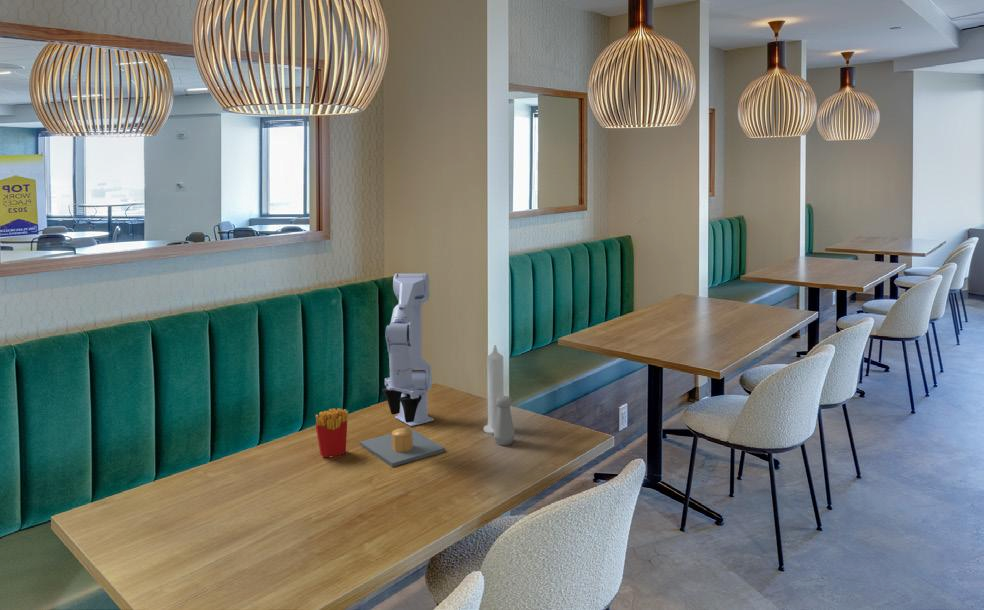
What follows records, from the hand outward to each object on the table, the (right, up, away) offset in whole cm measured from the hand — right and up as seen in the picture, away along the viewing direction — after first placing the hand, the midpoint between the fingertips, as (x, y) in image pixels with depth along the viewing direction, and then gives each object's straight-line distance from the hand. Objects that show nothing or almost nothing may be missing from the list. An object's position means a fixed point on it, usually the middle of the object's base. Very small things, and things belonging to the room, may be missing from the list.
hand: (402, 417), depth 196 cm
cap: (0, -8, +1) cm, 8 cm away
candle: (+25, -6, +16) cm, 30 cm away
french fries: (-18, -10, 0) cm, 21 cm away
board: (-1, -9, +4) cm, 9 cm away
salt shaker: (+27, -8, +7) cm, 29 cm away
